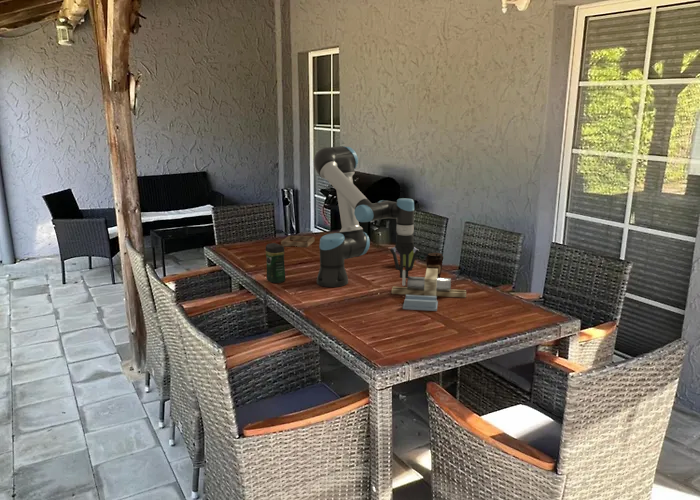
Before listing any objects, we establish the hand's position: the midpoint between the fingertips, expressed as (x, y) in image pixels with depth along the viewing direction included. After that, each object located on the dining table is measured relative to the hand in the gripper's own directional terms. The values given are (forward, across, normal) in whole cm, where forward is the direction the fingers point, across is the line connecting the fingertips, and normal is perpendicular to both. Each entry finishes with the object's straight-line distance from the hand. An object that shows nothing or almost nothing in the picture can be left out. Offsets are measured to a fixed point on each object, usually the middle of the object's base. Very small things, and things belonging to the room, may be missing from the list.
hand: (403, 284), depth 252 cm
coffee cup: (+4, +12, +24) cm, 27 cm away
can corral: (+3, -76, +90) cm, 118 cm away
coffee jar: (+4, -63, +9) cm, 64 cm away
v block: (+4, +9, -17) cm, 19 cm away
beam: (+4, +12, 0) cm, 13 cm away
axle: (-1, +11, 0) cm, 11 cm away
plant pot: (+4, -3, +48) cm, 49 cm away
